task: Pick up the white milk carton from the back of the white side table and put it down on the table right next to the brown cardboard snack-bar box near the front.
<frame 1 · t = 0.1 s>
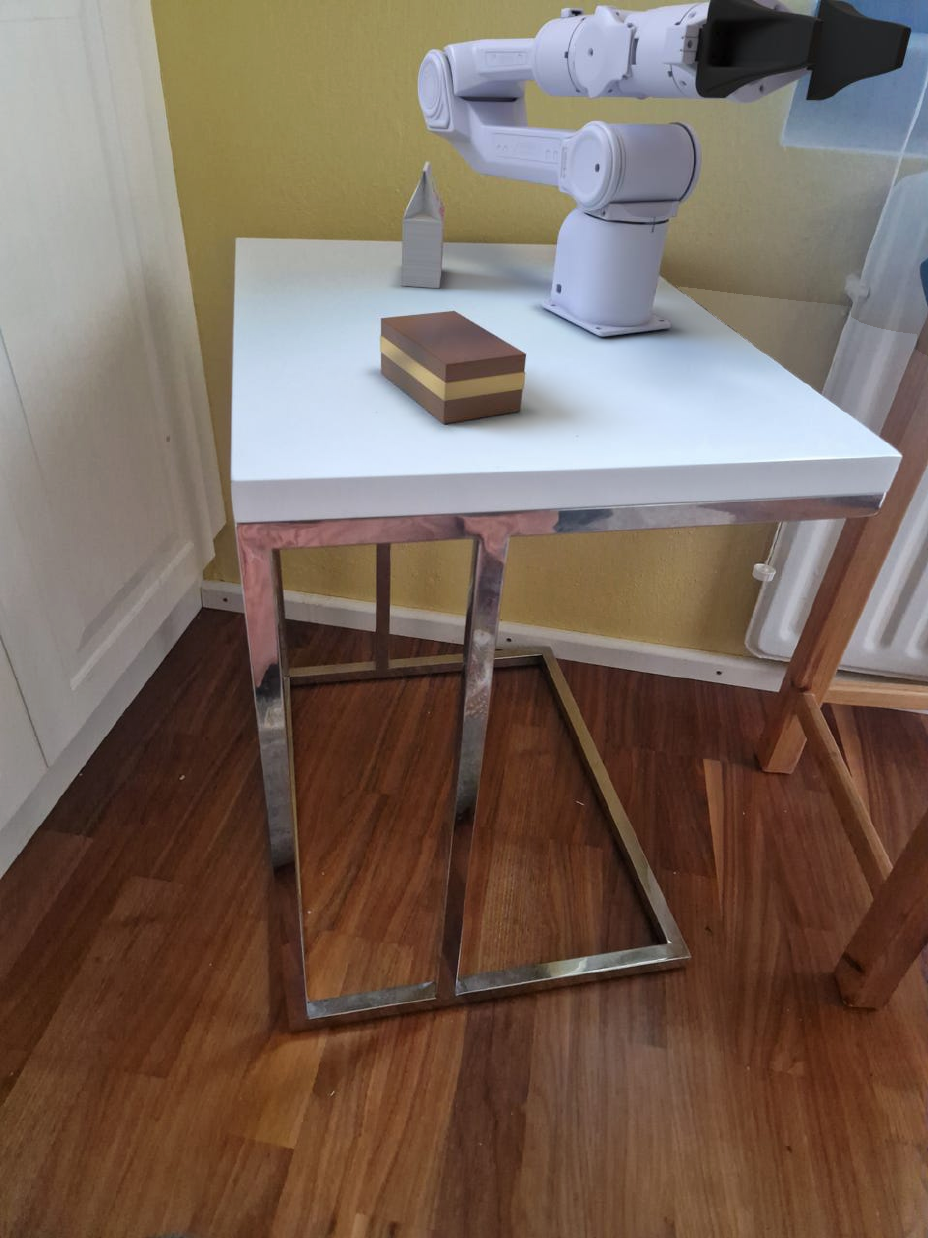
hand: (860, 44, 49), 22 cm above the table, tool horizontal, fingers open, 7 cm apart
snack box: (447, 391, 59), on the table
white milk carton: (422, 279, 83), on the table
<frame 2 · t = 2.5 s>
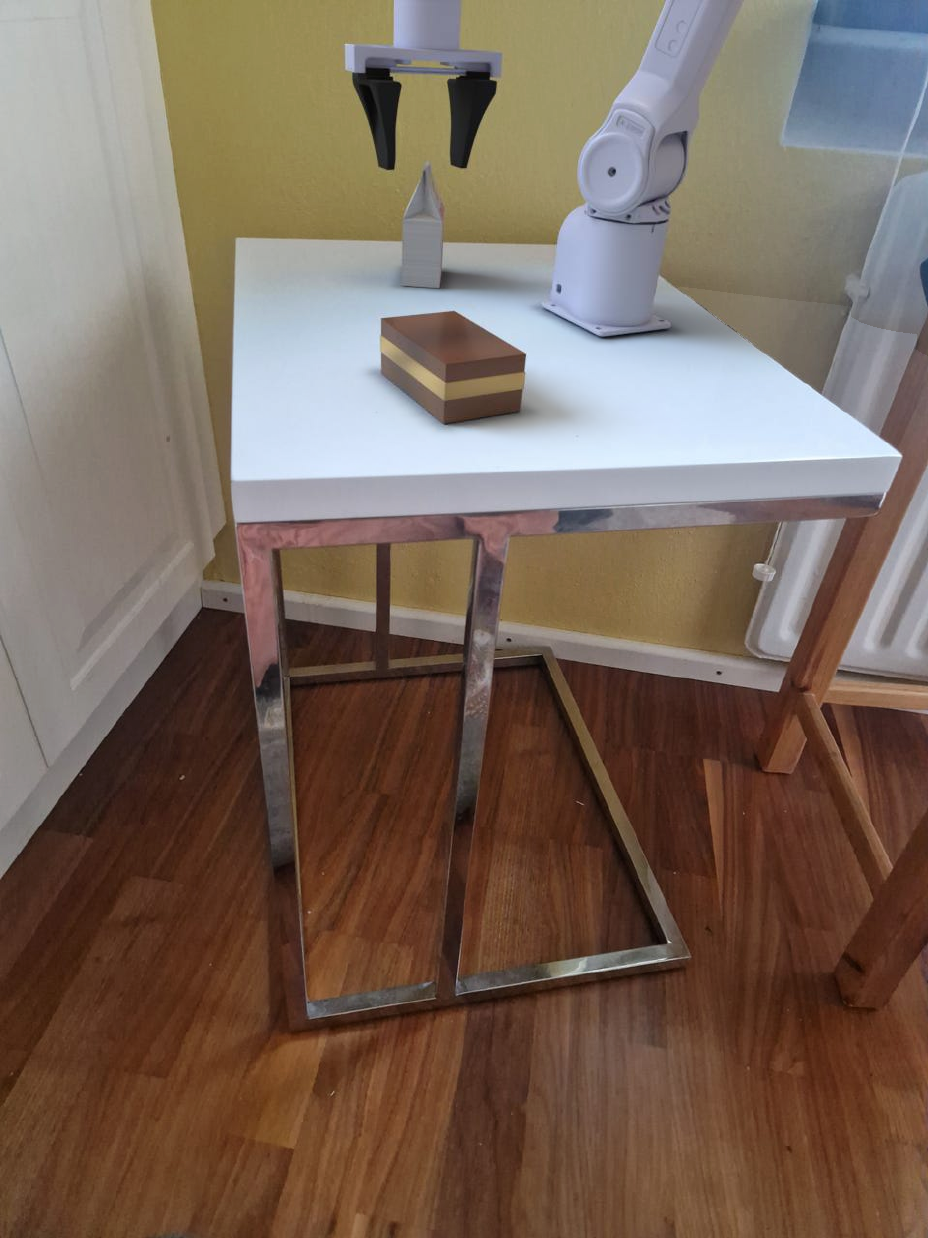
hand: (423, 167, 77), 10 cm above the table, tool pointing down, fingers open, 7 cm apart
nothing on the table moved.
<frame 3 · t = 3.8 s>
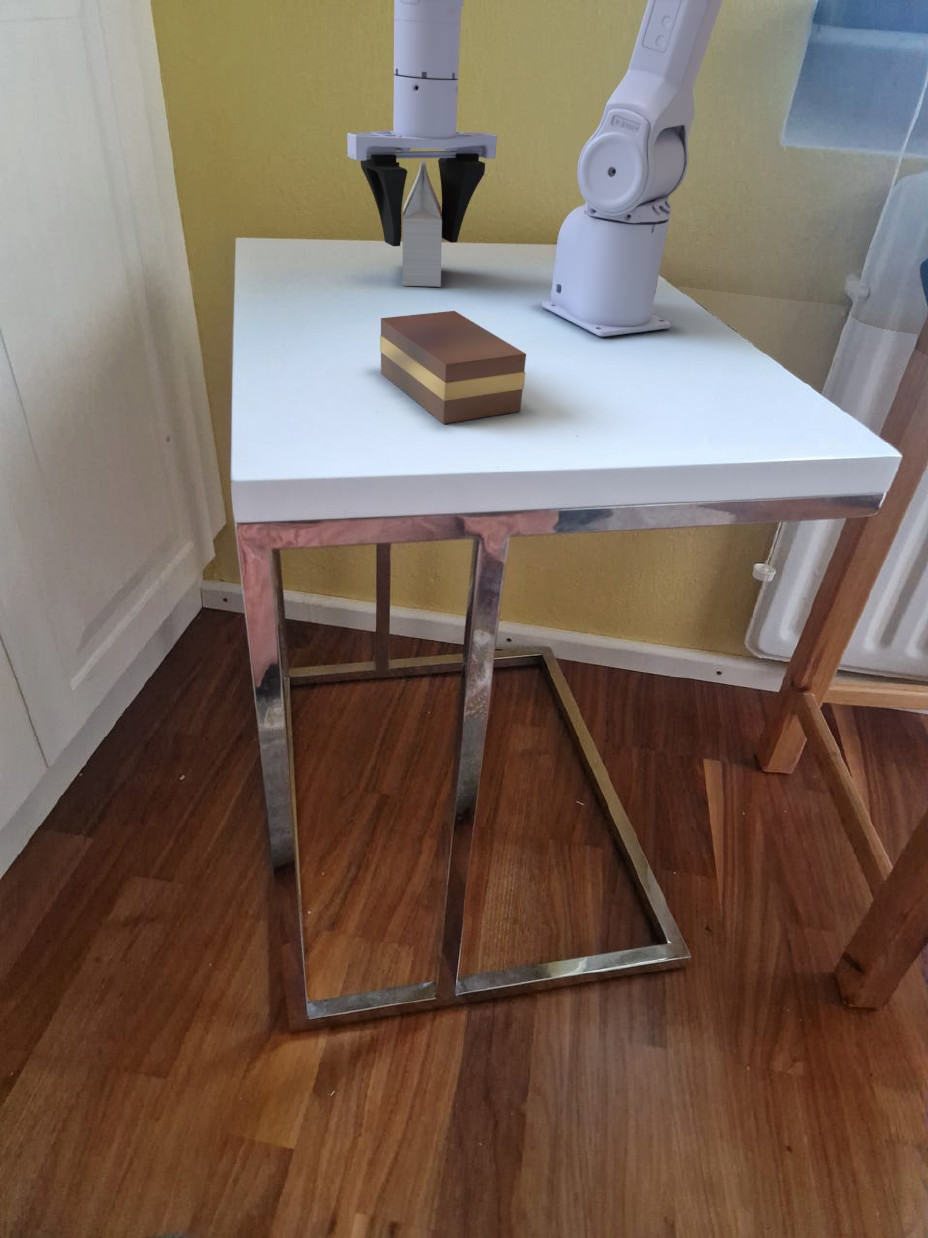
hand: (421, 241, 81), 3 cm above the table, tool pointing down, fingers closed on white milk carton, 6 cm apart
white milk carton: (421, 279, 83), on the table, touching gripper
everything else where it was.
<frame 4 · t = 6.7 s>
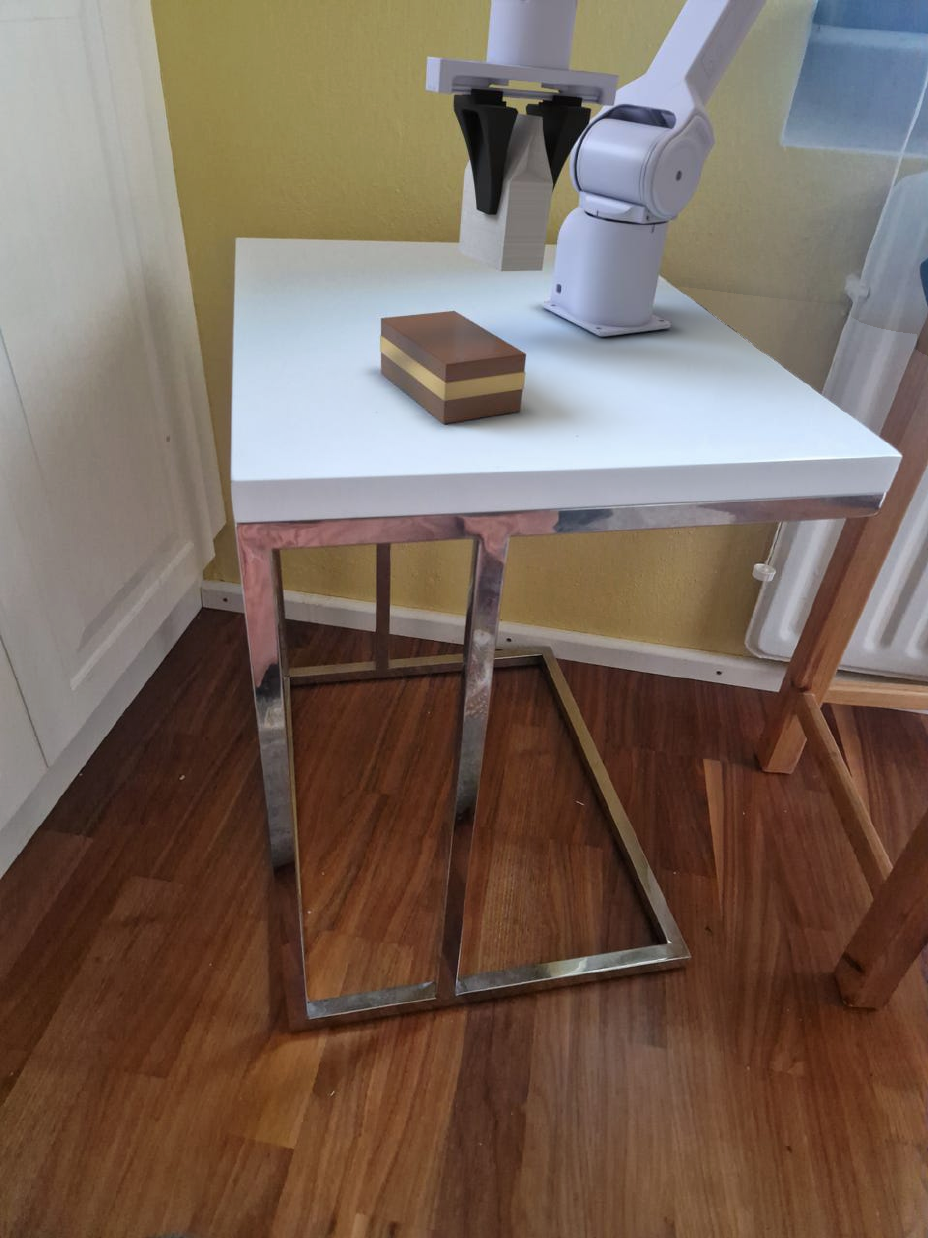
hand: (511, 212, 62), 10 cm above the table, tool pointing down, fingers closed on white milk carton, 4 cm apart
white milk carton: (499, 264, 65), point 6 cm above the table, touching gripper
everything else where it was.
when the fingers open (4 cm above the table, at t = 9.5 s): white milk carton stays where it is, on the table.
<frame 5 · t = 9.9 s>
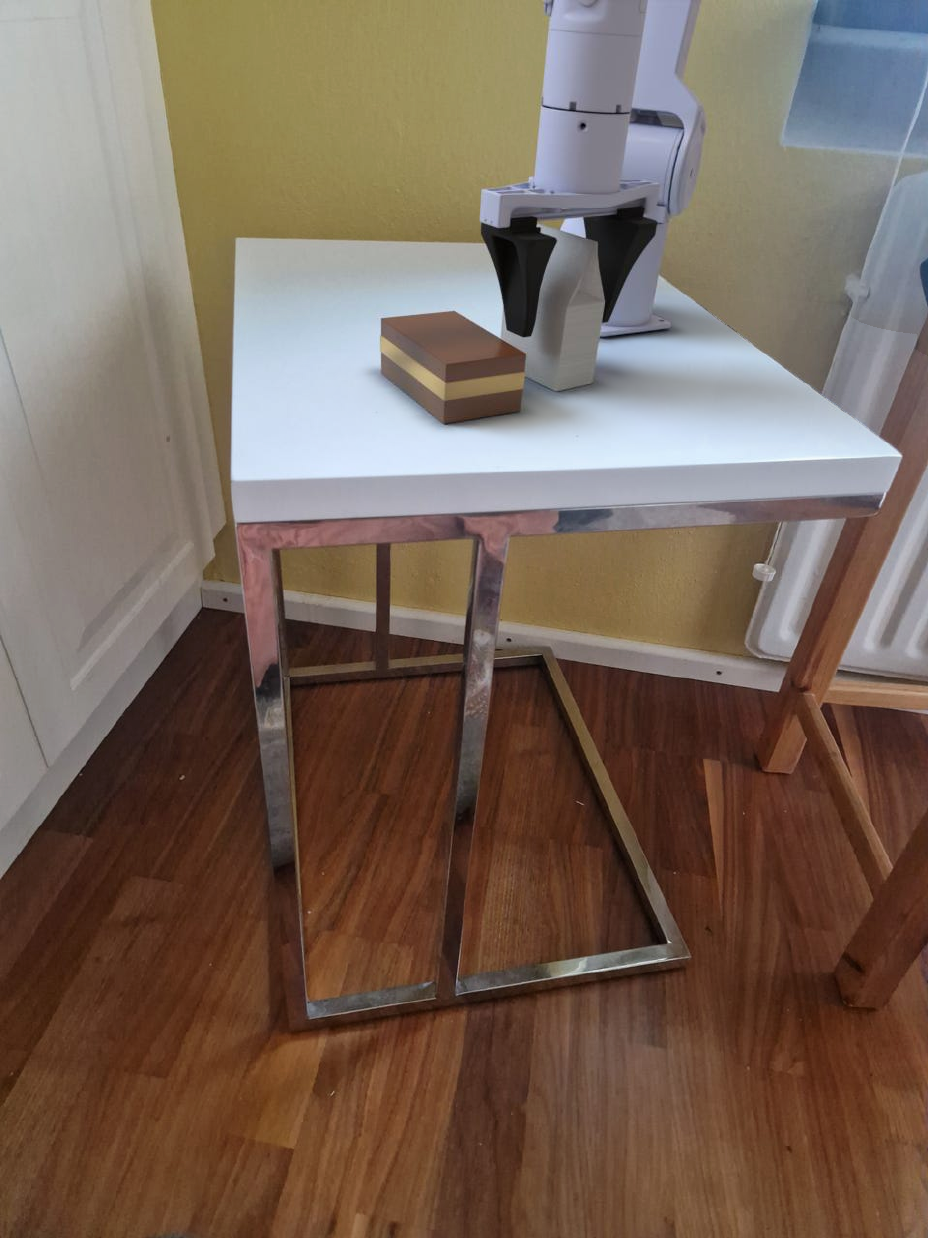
hand: (558, 325, 60), 4 cm above the table, tool pointing down, fingers open, 7 cm apart
white milk carton: (544, 375, 63), on the table
everything else where it was.
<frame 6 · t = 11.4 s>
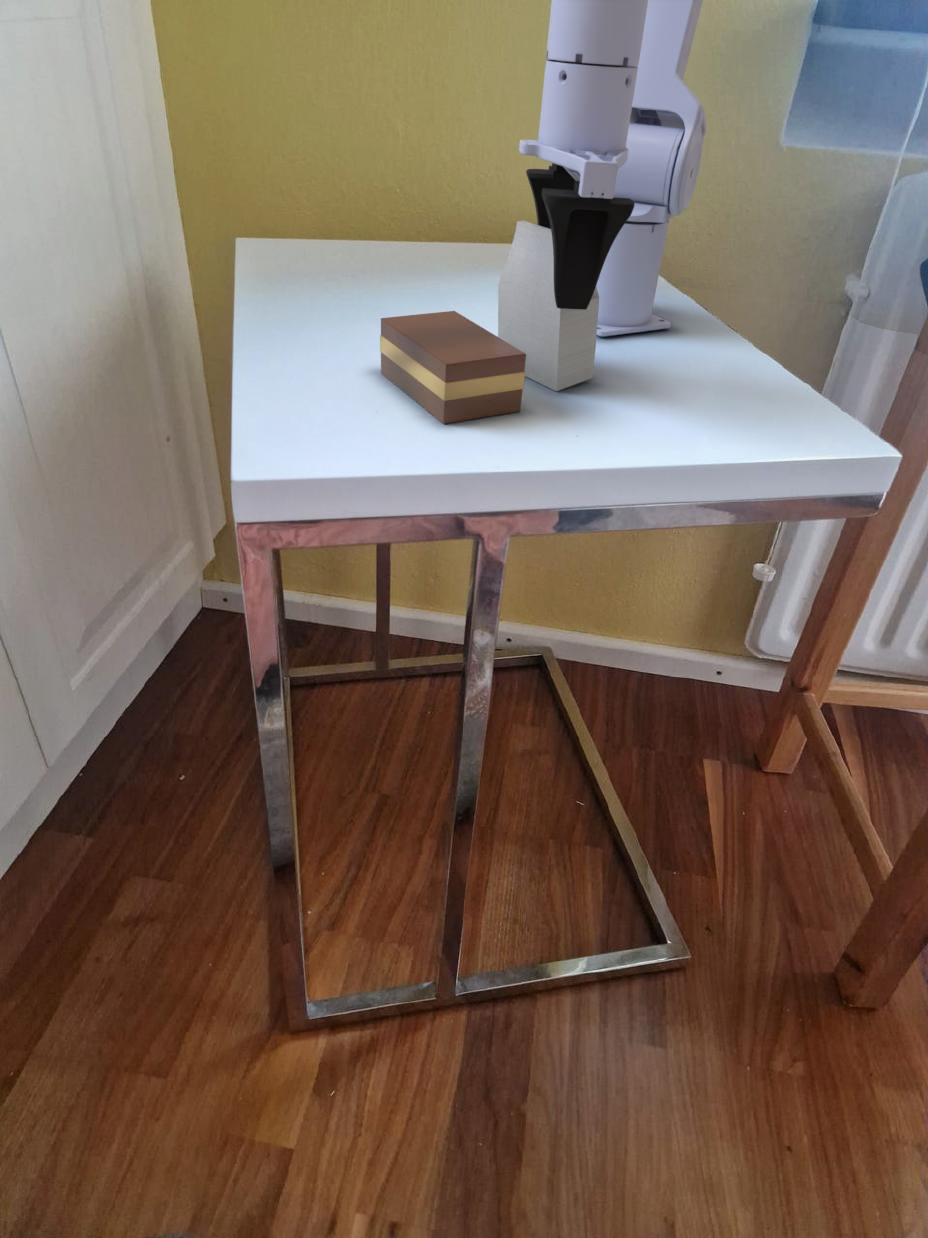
hand: (563, 291, 59), 6 cm above the table, tool pointing down, fingers open, 7 cm apart
white milk carton: (544, 372, 63), on the table, touching gripper
everything else where it was.
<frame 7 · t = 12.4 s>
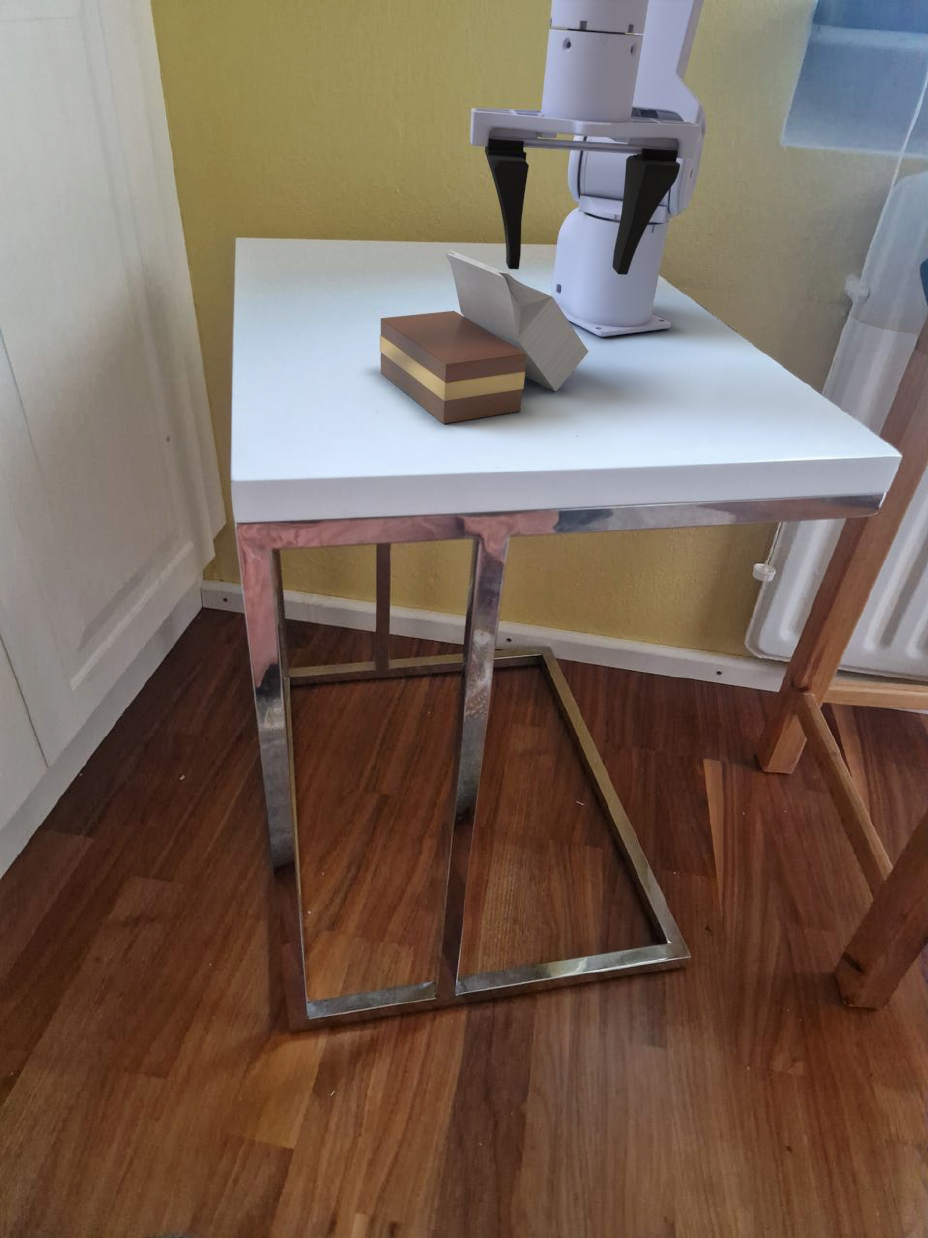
hand: (566, 268, 58), 8 cm above the table, tool pointing down, fingers open, 7 cm apart
snack box: (447, 391, 59), on the table, touching white milk carton
white milk carton: (544, 358, 62), point 1 cm above the table, touching snack box
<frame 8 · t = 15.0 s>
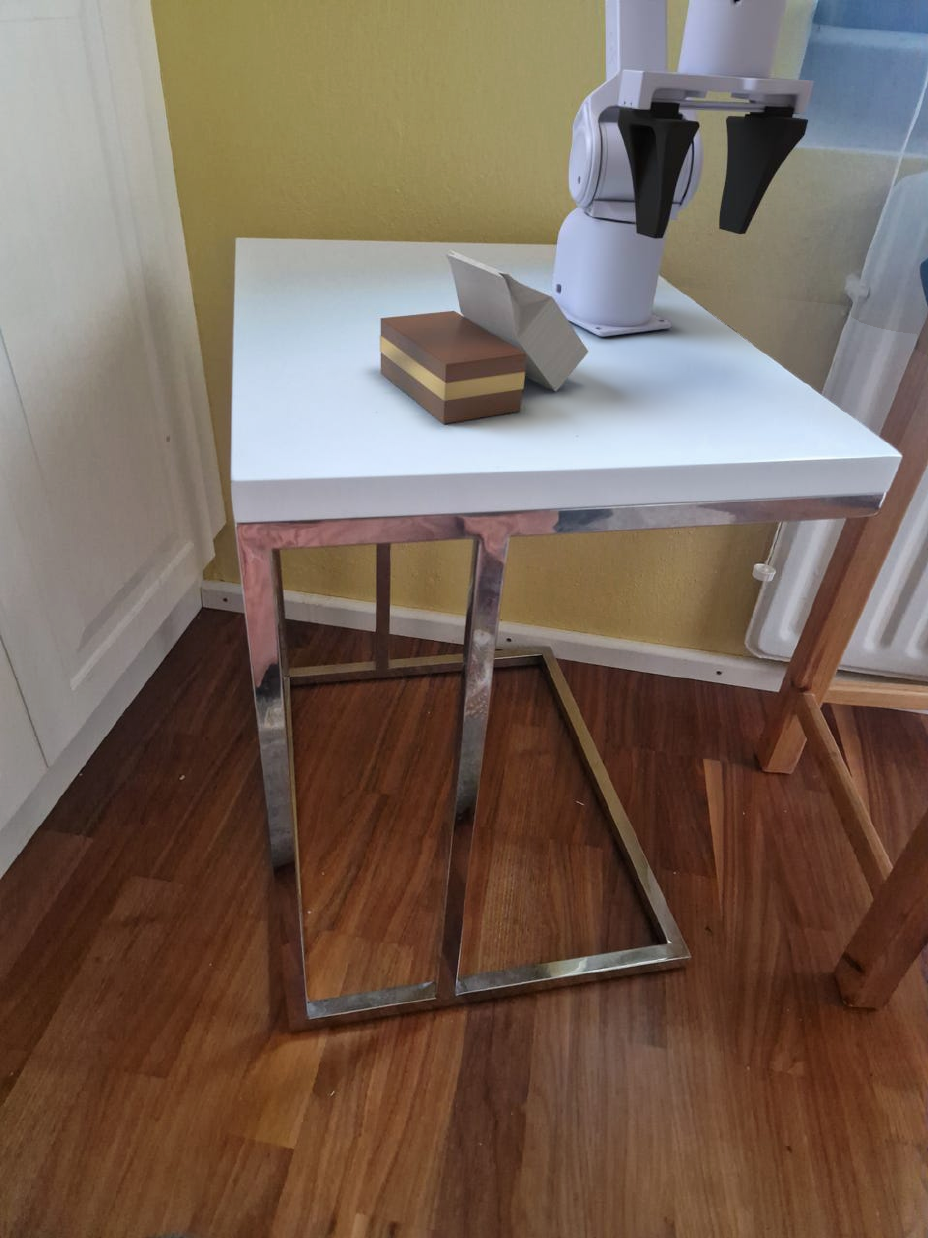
hand: (691, 233, 57), 10 cm above the table, tool pointing down, fingers open, 7 cm apart
nothing on the table moved.
at the end: white milk carton inside the target area on the table beside the snack box (0.7 cm from its centre), point 1.1 cm above the table; the gripper is holding nothing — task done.
